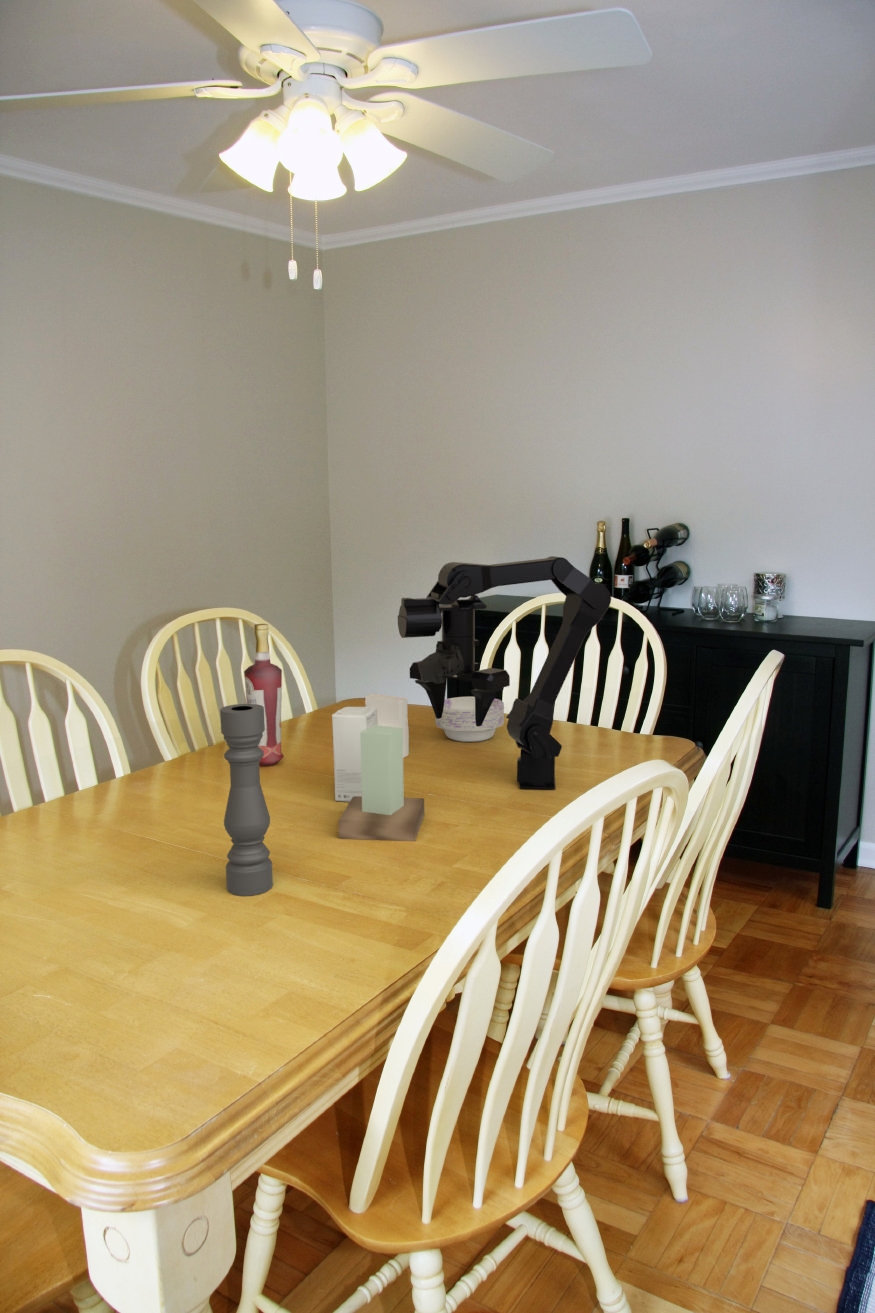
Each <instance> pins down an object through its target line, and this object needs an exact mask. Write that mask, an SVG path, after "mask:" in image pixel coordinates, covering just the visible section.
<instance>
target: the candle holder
mask: <svg viewBox="0 0 875 1313" xmlns="http://www.w3.org/2000/svg"><path fill="white" fill-rule="evenodd" d="M219 714H220V731H221V732H220V733H221V734H222V735H223V740H224V741H225V742H226V745H227V746H228V749H227V750H226V751H225V752H224V754H223V755H224V756H223V757H224V759H225V760H226V761H227V763H228V764H229V773H230V774H229V776H230V787H229V790H228V791H229V792H228V796H227V797H228V798H227V803H226V808H225V813H224V818H223V826H224V828H225V829H224V830H225V831H226V833H227V834H228V836H229V837H230V838H231V840H230V841H231V843H232V844H233V845H232V846H231V848H230V850H229V851H228V852H227V854H226V858H227V859H228V861H227V863H226V865H225V876H226V879H225V880H226V890H227V892H228V893H229V894H232V895H234V896H239V897H252V896H258V895H261V894H265V893H267V892H269V891H270V890H271V889H273V885H274V882H273V880H274V877H273V876H274V875H273V861H272V860H271V858H270V855H271V852H270V849H268V847H267V846H266V844H265V843H264V841H265V835H266V834H267V831H268V829H269V827H270V824H271V816H270V812H269V809H268V806H267V803H266V799H265V796H264V793H263V792H264V791H263V789H262V785H261V777H260V776H261V774H260V772H261V771H260V766H259V762H260V759H261V758H262V757H263V756H264V751H263V750H262V749H260V748H259V747H258V745H259V743H260V740H261V738H262V737H263V732H264V730H265V724H264V707H263V706H262V705H258V704H247V703H238V704H237V703H236V704H230V705H226V706H223V707H221V708H220V709H219Z"/></svg>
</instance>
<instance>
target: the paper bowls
mask: <svg viewBox="0 0 875 1313" xmlns="http://www.w3.org/2000/svg"><path fill="white" fill-rule="evenodd" d="M434 717H435V718H434V719H435V720H434V721H435V727H437V728H439V729H442V730H443V731H444V734H445V735H446V737H447V738H448V739H450V740H451V741H452V740H453V741H457V742H462V743H463V742H464V743H473V742H475V743H476V742H483V741H486V740H489V739H491V738H492V737H493V736H494V734H495V733H496V731H497V728H500V727H502V726H504V724H505V704H504V701H502V700H501V699H499V698H495V699H494V700H493V702H492V704H491V706H490V708H489V710H488V712H487V715H486V717H485V719H484V721H483V723H482V725H481V726H479V727H477V726H476V721H475V697H474V696H457V697H456V696H455V697H450V698H445V700H444V709H443V714H442V718H440V719H437V718H436V716H435V715H434Z"/></svg>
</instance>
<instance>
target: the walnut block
mask: <svg viewBox="0 0 875 1313" xmlns="http://www.w3.org/2000/svg"><path fill="white" fill-rule="evenodd" d="M424 818H425V797H404V806H403V807H401V808H400V809H399V810H397V811H396V812H394V813H393V814H391V815H385V814H378V813H370V812H363V811H362V796H353V797H352V799H351V801H350V802H348V804H347V806H346V807H345V809H344V810H343V812H342V814H341V815H340V817H339V818H338V821H337V822H338V823H337V824H338V840H369V841H371V840H372V841H374V840H375V841H400V842H401V841H402V842H403V841H404V842H405V841H406V842H408V841H409V842H415V841H417V840H416V839H417V837H418V835H419V832H420V829H421V827H422V823H423V821H424Z"/></svg>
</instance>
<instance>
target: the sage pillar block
mask: <svg viewBox="0 0 875 1313" xmlns="http://www.w3.org/2000/svg"><path fill="white" fill-rule="evenodd" d="M360 736H361V782H362V811H363V812H370V813H378V814H385V815H391V814H393V813H394V812H396V811H397V810H399V809H400V808H401V807H403V806H404V798H405V797H404V796H405V795H404V793H405V792H404V791H405V790H404V757H403V728H399V727H389V726H379V725H374V726H372V727H370V728H368V729H366V730H364V731H362V732H360Z"/></svg>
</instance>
